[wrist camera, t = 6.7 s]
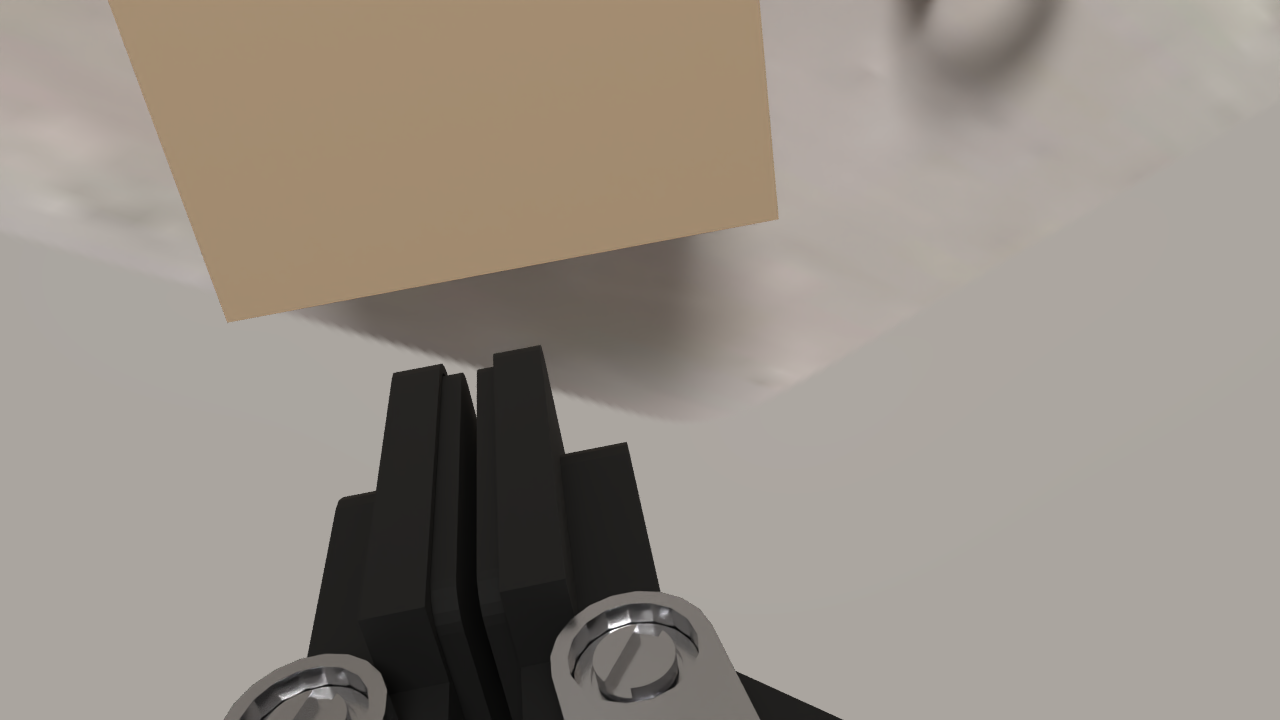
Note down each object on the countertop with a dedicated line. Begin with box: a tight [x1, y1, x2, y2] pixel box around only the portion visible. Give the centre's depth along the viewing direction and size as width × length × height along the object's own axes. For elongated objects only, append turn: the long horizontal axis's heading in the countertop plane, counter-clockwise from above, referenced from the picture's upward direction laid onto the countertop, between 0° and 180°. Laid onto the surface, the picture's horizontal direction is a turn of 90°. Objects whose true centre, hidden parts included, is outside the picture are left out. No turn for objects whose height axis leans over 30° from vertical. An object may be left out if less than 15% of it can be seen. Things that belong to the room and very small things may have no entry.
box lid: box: [108, 0, 779, 322], centre depth 21 cm, size 12×10×1 cm
